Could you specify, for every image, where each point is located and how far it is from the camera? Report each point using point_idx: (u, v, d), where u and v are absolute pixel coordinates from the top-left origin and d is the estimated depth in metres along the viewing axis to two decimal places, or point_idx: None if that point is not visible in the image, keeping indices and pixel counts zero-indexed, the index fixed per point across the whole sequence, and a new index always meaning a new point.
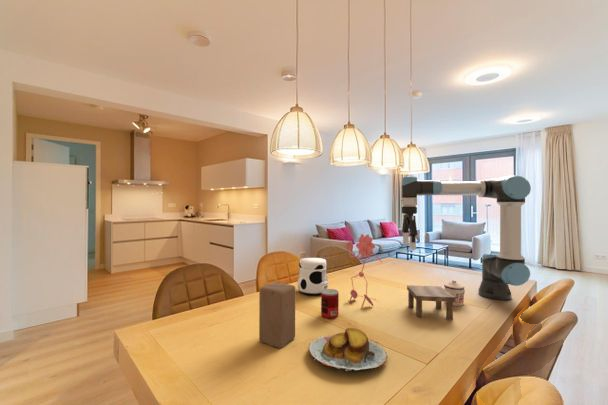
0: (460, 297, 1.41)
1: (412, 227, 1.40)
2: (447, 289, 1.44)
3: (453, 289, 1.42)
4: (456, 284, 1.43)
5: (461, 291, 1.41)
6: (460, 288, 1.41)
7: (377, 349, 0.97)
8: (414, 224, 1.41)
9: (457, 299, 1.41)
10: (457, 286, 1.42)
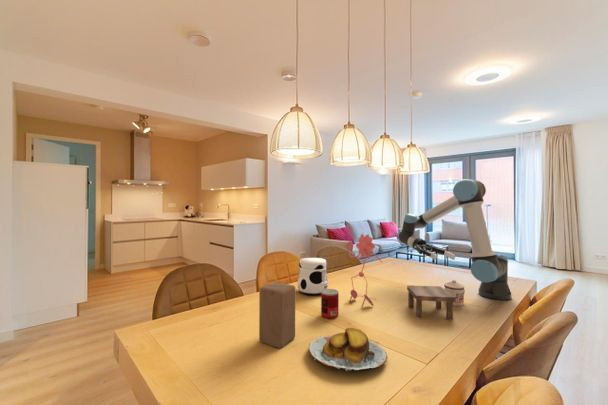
0: (460, 297, 1.41)
1: (418, 250, 1.60)
2: (447, 289, 1.44)
3: (453, 289, 1.42)
4: (456, 284, 1.43)
5: (461, 291, 1.41)
6: (460, 288, 1.41)
7: (377, 349, 0.97)
8: (417, 248, 1.62)
9: (457, 299, 1.41)
10: (457, 286, 1.42)
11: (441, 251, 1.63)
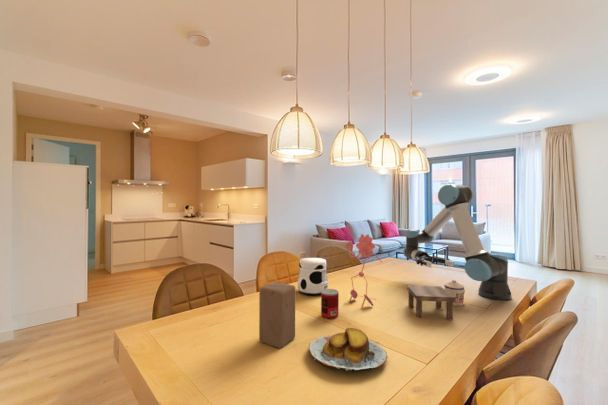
0: (460, 297, 1.41)
1: (416, 261, 1.66)
2: (447, 289, 1.44)
3: (453, 289, 1.42)
4: (456, 284, 1.43)
5: (461, 291, 1.41)
6: (460, 288, 1.41)
7: (377, 349, 0.97)
8: (416, 259, 1.67)
9: (457, 299, 1.41)
10: (457, 286, 1.42)
11: (442, 260, 1.65)
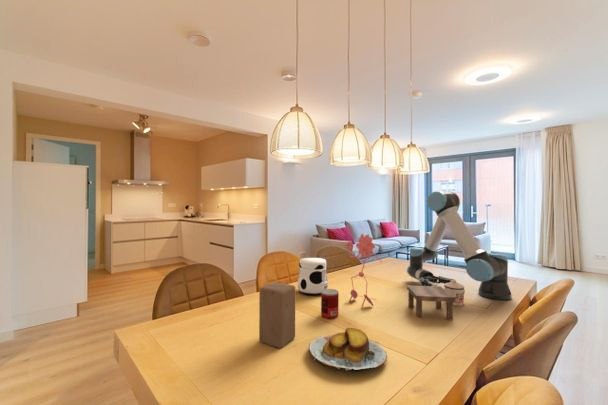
0: (460, 297, 1.41)
1: (421, 282, 1.61)
2: (447, 289, 1.44)
3: (453, 289, 1.42)
4: (456, 284, 1.43)
5: (461, 291, 1.41)
6: (460, 288, 1.41)
7: (377, 349, 0.97)
8: (420, 280, 1.62)
9: (457, 299, 1.41)
10: (457, 286, 1.42)
11: (447, 281, 1.60)
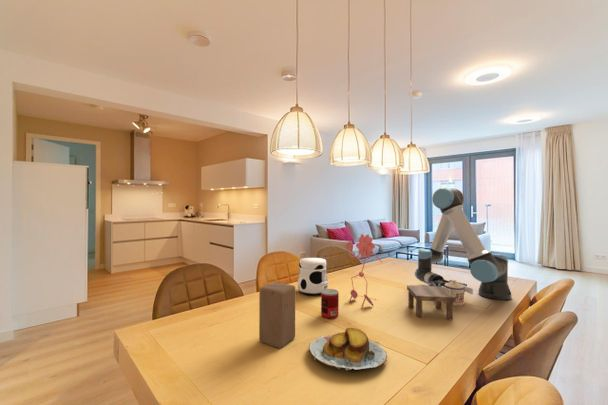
0: (460, 297, 1.41)
1: None
2: None
3: (453, 289, 1.41)
4: (456, 284, 1.43)
5: (461, 291, 1.41)
6: (460, 288, 1.41)
7: (377, 349, 0.97)
8: (432, 284, 1.53)
9: (457, 299, 1.41)
10: (457, 286, 1.42)
11: None
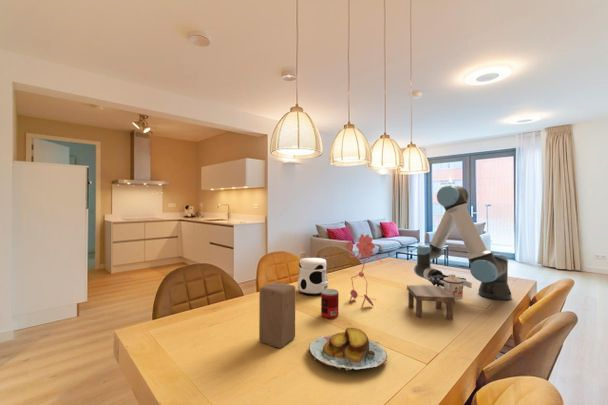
0: (459, 291, 1.42)
1: (431, 282, 1.52)
2: None
3: (452, 283, 1.42)
4: (455, 278, 1.43)
5: (460, 285, 1.42)
6: (459, 282, 1.41)
7: (377, 348, 0.98)
8: (431, 279, 1.53)
9: (456, 293, 1.41)
10: (456, 280, 1.42)
11: None
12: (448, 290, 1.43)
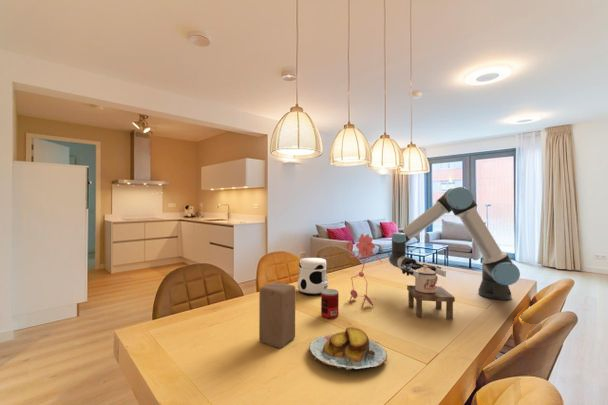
0: (431, 284, 1.28)
1: None
2: None
3: (423, 274, 1.29)
4: (427, 269, 1.30)
5: (432, 277, 1.28)
6: (431, 273, 1.28)
7: (377, 348, 0.98)
8: (402, 267, 1.42)
9: (427, 286, 1.28)
10: (428, 271, 1.29)
11: (432, 269, 1.40)
12: (419, 282, 1.30)
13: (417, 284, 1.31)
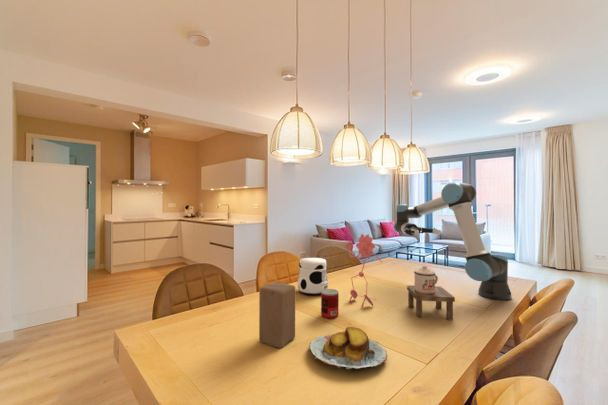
0: (430, 284, 1.28)
1: (405, 232, 1.72)
2: (416, 275, 1.31)
3: (422, 275, 1.29)
4: (426, 270, 1.30)
5: (431, 277, 1.28)
6: (429, 274, 1.28)
7: (377, 348, 0.98)
8: (405, 229, 1.73)
9: (426, 286, 1.28)
10: (426, 272, 1.29)
11: (430, 230, 1.71)
12: (418, 283, 1.30)
13: (416, 284, 1.32)
